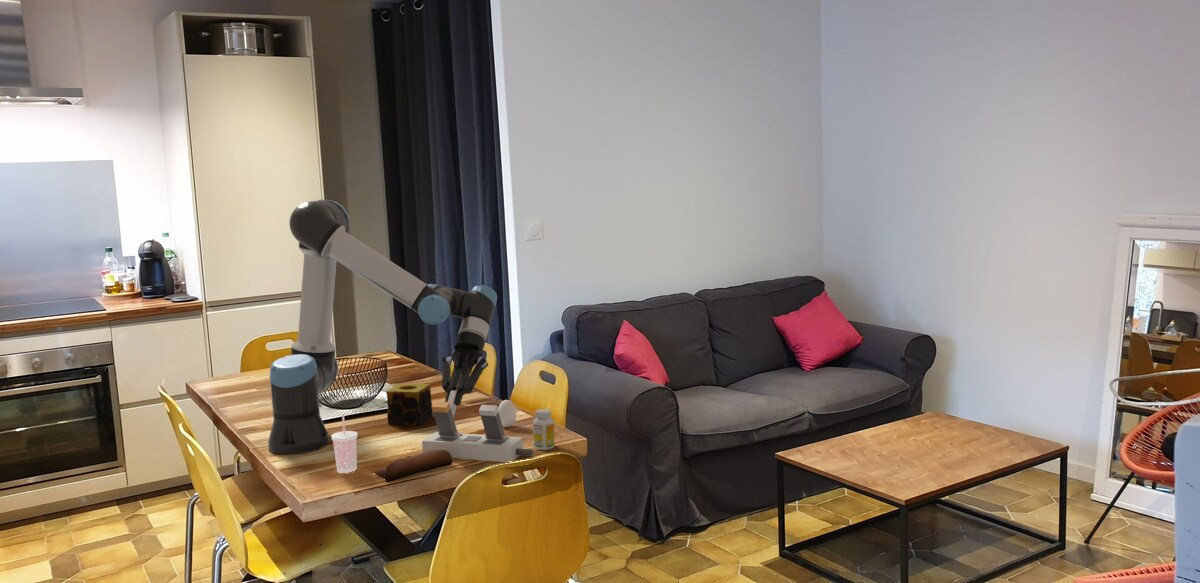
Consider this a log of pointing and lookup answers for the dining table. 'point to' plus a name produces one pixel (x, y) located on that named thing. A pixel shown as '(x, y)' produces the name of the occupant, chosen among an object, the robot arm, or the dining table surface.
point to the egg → (507, 413)
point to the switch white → (492, 422)
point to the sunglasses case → (414, 464)
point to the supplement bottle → (543, 430)
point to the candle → (409, 404)
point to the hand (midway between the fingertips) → (448, 415)
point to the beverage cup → (345, 449)
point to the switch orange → (444, 419)
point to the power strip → (477, 447)
